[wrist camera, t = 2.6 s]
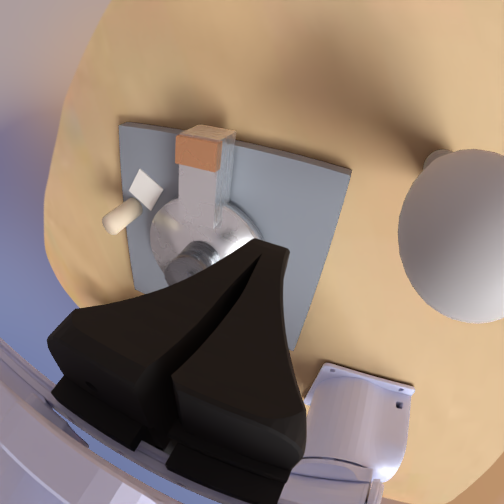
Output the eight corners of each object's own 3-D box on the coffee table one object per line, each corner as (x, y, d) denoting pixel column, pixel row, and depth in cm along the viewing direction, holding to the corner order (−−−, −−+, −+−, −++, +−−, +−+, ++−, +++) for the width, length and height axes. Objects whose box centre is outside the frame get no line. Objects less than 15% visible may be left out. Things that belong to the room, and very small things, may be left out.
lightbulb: (422, 92, 14) (489, 136, 5) (504, 154, 13) (603, 264, 5) (372, 181, 18) (359, 311, 9) (451, 232, 17) (485, 379, 9)
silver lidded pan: (259, 313, 25) (241, 349, 22) (160, 276, 27) (135, 304, 24) (292, 143, 17) (272, 164, 14) (155, 117, 19) (115, 133, 16)
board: (352, 170, 18) (345, 196, 15) (296, 342, 27) (283, 378, 24) (127, 121, 21) (89, 137, 18) (140, 283, 31) (117, 308, 28)
